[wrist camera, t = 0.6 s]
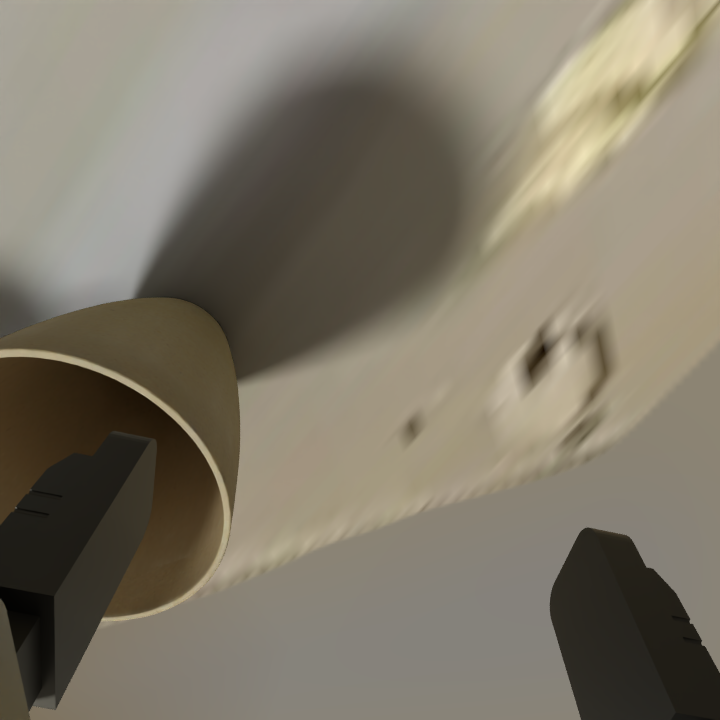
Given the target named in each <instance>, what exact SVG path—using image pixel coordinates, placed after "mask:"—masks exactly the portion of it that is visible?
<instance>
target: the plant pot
mask: <svg viewBox="0 0 720 720" xmlns="http://www.w3.org/2000/svg"><path fill="white" fill-rule="evenodd" d="M112 431H118V432H123V433H127V434H132V435H137V436H142V437H147V438H152V439H155V440H156V442H157V453H156V466H155V478H154V490H153V502H152V509H151V514H150V519H149V522H148V526H147V529H146V531H145V534H144V537H143V539H142V541H141V543H140V545H139V547H138V549H137V551H136V553H135V555H134V557H133V559H132V561H131V563H130V565H129V567H128V569H127V570H126V572H125V574H124V576H123V578H122V580H121V582H120V584H119V586H118V588H117V590H116V592H115V594H114V596H113V598H112V600H111V602H110V604H109V606H108V608H107V610H106V612H105V614H104V616H103V618H102V620H101V621H121V620H128V619H135V618H141V617H145V616H149V615H153V614H156V613H159V612H162V611H164V610H167V609H169V608H171V607H174V606H176V605H178V604H179V603H181V602H183V601H185V600H186V599H188V598H189V597H191V596H192V595H193V594H195V593H196V592H197V591H198V590H199V589H201V588H202V587H203V586H204V585H205V584H206V583H207V582H208V581H209V579H210V578H211V577H212V575H213V574H214V572H215V571H216V569H217V568H218V566H219V564H220V562H221V560H222V558H223V556H224V554H225V551H226V548H227V545H228V540H229V536H230V529H231V523H232V516H233V509H234V501H235V493H236V484H237V475H238V466H239V453H240V410H239V397H238V386H237V379H236V373H235V368H234V363H233V359H232V355H231V351H230V348H229V344H228V341H227V339H226V336H225V334H224V332H223V330H222V329H221V327H220V325H219V324H218V323H217V321H216V320H215V319H214V318H213V317H212V316H211V315H210V314H208V313H207V312H206V311H205V310H203V309H202V308H200V307H199V306H197V305H195V304H193V303H191V302H188V301H185V300H182V299H176V298H139V299H130V300H123V301H116V302H111V303H106V304H101V305H97V306H93V307H89V308H85V309H81V310H77V311H74V312H70V313H67V314H64V315H60V316H57V317H54V318H51V319H49V320H46V321H43V322H40V323H37V324H35V325H32V326H29V327H26V328H24V329H21V330H19V331H16V332H14V333H12V334H9V335H7V336H4V337H2V338H0V525H1V524H2V522H3V521H4V520H5V519H6V518H7V516H8V515H9V514H10V513H11V512H14V510H15V507H16V506H17V504H18V503H19V502H20V501H21V500H22V498H23V497H24V496H25V495H26V494H29V492H30V489H31V488H32V486H33V485H34V484H35V483H36V482H37V480H38V479H39V478H40V477H41V476H42V474H43V473H44V472H45V471H46V470H47V468H49V467H51V466H52V465H54V464H56V463H58V462H59V461H61V460H63V459H65V458H66V457H68V456H70V455H71V454H73V453H79V454H84V455H89V456H93V455H94V454H95V452H96V451H97V450H98V448H99V447H100V446H101V444H102V443H103V442H104V440H105V439H106V437H107V436H108V435H109V434H110V433H111V432H112Z"/></svg>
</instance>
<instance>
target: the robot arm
mask: <svg viewBox="0 0 720 720" xmlns="http://www.w3.org/2000/svg"><path fill="white" fill-rule="evenodd" d="M156 453H157V442H156V440H155V439H152V438H147V437H142V436H137V435H132V434H127V433H123V432H118V431H112V432H111V433H110V434H109V435H108V436H107V437H106V439H105V440H104V442H103V443H102V444H101V446H100V447H99V448H98V450H97V451H96V452H95V454H94V455H93V456H89V455H84V454H79V453H73V454H71V455H70V456H68V457H66V458H65V459H63V460H61V461H59V462H58V463H56V464H54V465H52V466H51V467H49V468H47V470H46V471H45V472H44V473H43V474H42V476H41V477H40V478H39V479H38V480H37V482H36V483H35V484H34V485H33V486H32V488H31V489H30V492H29V494H26V495H25V496H24V497H23V498H22V500H21V501H20V502H19V503H18V504H17V506H16V507H15V510H14V512H11V513H10V514H9V515H8V516H7V518H6V519H5V520H4V521H3V522H2V524H1V525H0V720H30V716H29V711H30V709H31V707H32V706H36V707H42V708H47V709H54V710H56V708H57V706H58V704H59V702H60V700H61V698H62V696H63V694H64V692H65V690H66V688H67V686H68V684H69V682H70V680H71V678H72V677H73V675H74V673H75V670H76V668H77V667H78V665H79V663H80V661H81V659H82V657H83V655H84V653H85V651H86V649H87V647H88V645H89V643H90V641H91V639H92V637H93V635H94V633H95V631H96V629H97V627H98V625H99V624H100V622H101V620H102V618H103V616H104V614H105V612H106V610H107V608H108V606H109V604H110V602H111V600H112V598H113V596H114V594H115V592H116V590H117V588H118V586H119V584H120V582H121V580H122V578H123V576H124V574H125V572H126V570H127V569H128V567H129V565H130V563H131V561H132V559H133V557H134V555H135V553H136V551H137V549H138V547H139V545H140V543H141V541H142V539H143V537H144V534H145V531H146V529H147V526H148V522H149V519H150V514H151V509H152V502H153V490H154V478H155V466H156ZM550 615H551V620H552V623H553V626H554V630H555V633H556V636H557V640H558V643H559V646H560V650H561V653H562V657H563V660H564V663H565V667H566V670H567V673H568V677H569V680H570V684H571V687H572V690H573V693H574V697H575V700H576V704H577V707H578V710H579V714H580V717H581V720H720V673H719V671H718V669H717V667H716V665H715V664H714V662H713V660H712V658H711V656H710V655H709V653H708V651H707V649H706V647H705V646H702V645H701V641H702V640H701V638H700V636H699V634H698V633H697V631H696V629H695V627H694V626H693V624H690V622H689V621H690V618H689V616H688V615H687V613H686V611H685V609H684V607H683V605H682V603H681V602H680V600H679V598H678V596H677V594H676V593H675V592H674V591H673V590H672V589H671V588H670V586H669V585H668V584H667V583H666V582H665V581H664V580H663V579H662V578H661V577H660V576H659V575H658V574H657V573H656V572H655V571H654V569H651V568H646V566H645V564H644V562H643V560H642V558H641V556H640V554H639V552H638V551H637V549H636V547H635V545H634V543H633V541H632V539H630V537H628V536H627V535H622V534H618V533H613V532H607V531H603V530H597V529H593V528H585V529H583V530H582V531H581V532H580V533H579V535H578V537H577V539H576V541H575V543H574V545H573V547H572V549H571V551H570V553H569V555H568V557H567V559H566V561H565V563H564V565H563V567H562V569H561V571H560V573H559V575H558V577H557V579H556V581H555V583H554V585H553V588H552V592H551V597H550Z"/></svg>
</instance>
